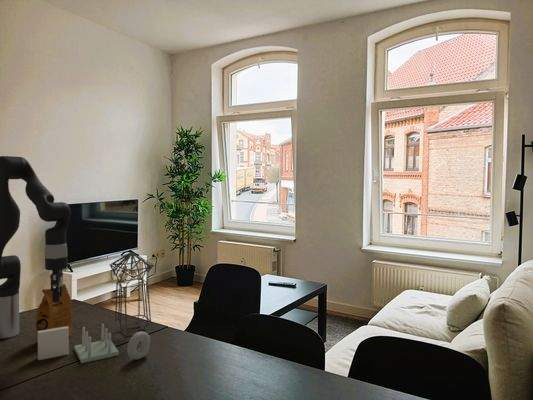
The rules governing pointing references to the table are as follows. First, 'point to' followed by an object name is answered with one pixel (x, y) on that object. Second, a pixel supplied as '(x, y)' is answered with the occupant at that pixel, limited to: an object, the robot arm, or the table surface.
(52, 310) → the coffee package
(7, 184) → the robot arm
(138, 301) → the geometric lantern
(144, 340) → the donut
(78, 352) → the dish rack
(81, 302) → the table surface
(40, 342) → the off-white rectangular prism
